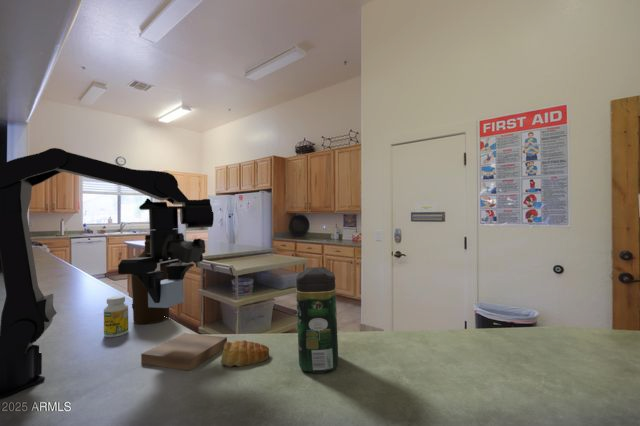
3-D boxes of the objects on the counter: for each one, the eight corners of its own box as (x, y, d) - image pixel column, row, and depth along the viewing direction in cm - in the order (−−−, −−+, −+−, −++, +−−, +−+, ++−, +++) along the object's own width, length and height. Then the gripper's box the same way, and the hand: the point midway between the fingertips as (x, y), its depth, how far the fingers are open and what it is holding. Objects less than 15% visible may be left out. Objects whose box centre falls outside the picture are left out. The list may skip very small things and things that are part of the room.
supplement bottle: (132, 329, 82) (132, 294, 83) (122, 337, 77) (122, 299, 78) (110, 331, 82) (110, 295, 82) (99, 338, 76) (99, 300, 77)
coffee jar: (299, 353, 64) (297, 265, 65) (337, 352, 64) (334, 264, 65) (296, 376, 55) (293, 272, 55) (340, 374, 55) (336, 271, 55)
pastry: (269, 351, 66) (269, 334, 66) (268, 365, 59) (268, 346, 60) (225, 355, 65) (225, 337, 65) (219, 370, 58) (219, 350, 58)
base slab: (189, 370, 58) (189, 360, 58) (141, 363, 61) (141, 353, 61) (227, 346, 69) (226, 337, 69) (184, 341, 73) (184, 333, 73)
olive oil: (176, 313, 97) (175, 235, 98) (161, 324, 86) (160, 237, 87) (142, 315, 96) (142, 236, 97) (123, 326, 86) (122, 238, 87)
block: (167, 307, 64) (166, 284, 64) (148, 307, 65) (147, 284, 65) (184, 301, 69) (183, 279, 69) (166, 301, 70) (165, 279, 70)
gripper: (160, 229, 56) (163, 314, 56) (220, 226, 74) (222, 290, 74) (114, 232, 59) (117, 311, 59) (182, 228, 77) (184, 289, 77)
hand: (166, 299), depth 67 cm, fingers closed on block, 5 cm apart
